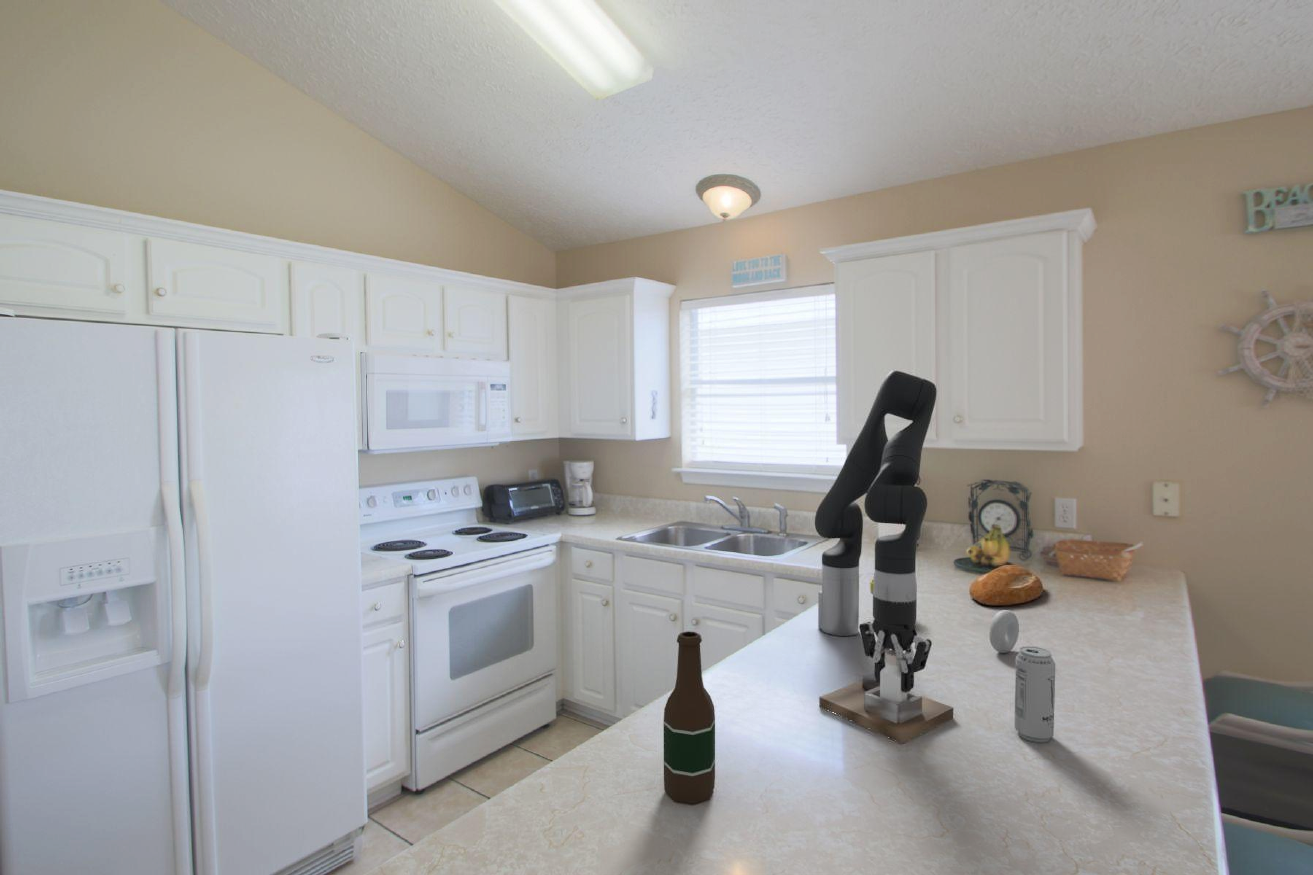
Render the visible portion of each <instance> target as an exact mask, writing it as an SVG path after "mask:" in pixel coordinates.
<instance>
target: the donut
mask: <svg viewBox="0 0 1313 875" xmlns="http://www.w3.org/2000/svg"><path fill="white" fill-rule="evenodd" d="M990 622H991V623H990V626H989V642H990V645H991V647H992V648H993V649H994V651H996V652H998V653H1000V654H1006V653H1009V652H1010V651H1012V650H1013V648H1014V647H1015V645H1016V643H1017V642H1018V638H1019V635H1020V634H1019V633H1020V624H1019V619H1018V617H1017V616H1016V614H1015V613H1014V612H1012V611H1011V610H1008V609H1007V610H1006V609H1003V610H1000V611H998V612H997V613H995V615H994V616H993V619H992V620H991V621H990Z"/></svg>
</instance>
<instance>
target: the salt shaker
mask: <svg viewBox="0 0 1313 875" xmlns="http://www.w3.org/2000/svg"><path fill="white" fill-rule="evenodd" d="M901 672H902V668H901V664H900V660H898V659H897V655H896V652H895V651H893V650H891V649H890V650H887V651H885V667H884V668H883V669H882V670H881V671H880V697H881V698H883V699H886V700H888V701H891V702H893V703H896V704H899V703H901V702H903V701H905V700H907V693H905V692H902V691H901Z"/></svg>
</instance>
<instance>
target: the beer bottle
mask: <svg viewBox="0 0 1313 875" xmlns="http://www.w3.org/2000/svg"><path fill="white" fill-rule="evenodd" d="M702 641H703V640H702V637H701V634H700V633H697V632H696V631H682V632H680V633H679V634H678V636H677V638H676V642H677V643H678V650H677V651H678V652H677V668H676V678H675V680H676V681H675V687H674V689H673V690H672V691H671V693H670V695H669V697H668V698H667V700H666V703H665V706H664V710H663V711H664V712H663V786H664V787H663V788H664V791H665V794H667V796H669V798H670V799H671V800H673V802H675V803H679V804H684V805H690V806H696V805H699V804H701V803H703V802H706V801H707V802H708V801H709V800H710V799H711V796H712V793H713V792H714V789H715V784H716V782H715V781H716V714H715V705H714V702H713V700H712V697H711V695H710V694H709V692H708V691H707V689H706V688H705V686H704V681H703V672H702V656H701V643H702Z"/></svg>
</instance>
